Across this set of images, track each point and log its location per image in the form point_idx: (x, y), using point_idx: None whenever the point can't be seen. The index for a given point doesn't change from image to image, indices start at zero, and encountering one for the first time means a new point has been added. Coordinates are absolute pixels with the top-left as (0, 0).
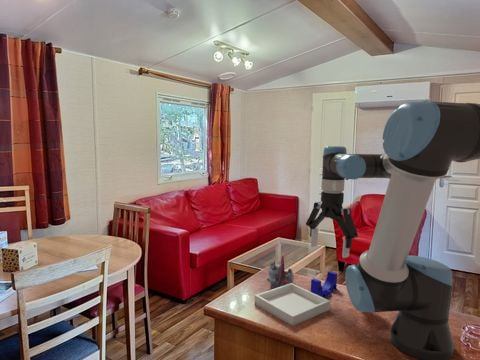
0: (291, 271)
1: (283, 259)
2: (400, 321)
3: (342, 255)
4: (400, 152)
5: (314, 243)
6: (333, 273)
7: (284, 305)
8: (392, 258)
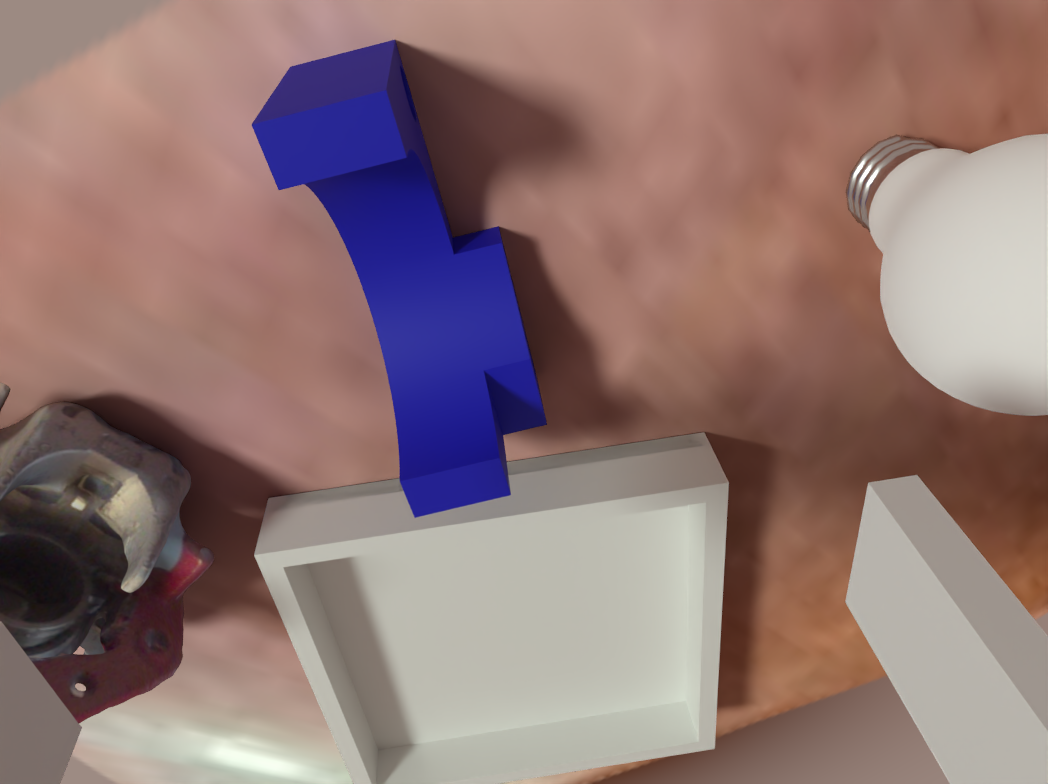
0: (12, 485)
1: None
2: None
3: (866, 631)
4: None
5: (24, 761)
6: (374, 160)
7: (502, 662)
8: None
